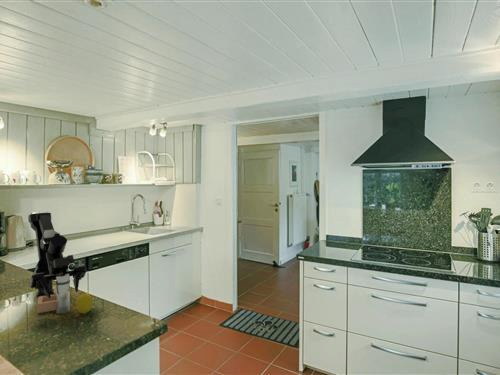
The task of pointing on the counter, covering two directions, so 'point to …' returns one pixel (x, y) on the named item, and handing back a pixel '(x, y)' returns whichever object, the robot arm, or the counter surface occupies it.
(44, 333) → the counter surface
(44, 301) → the terracotta collar
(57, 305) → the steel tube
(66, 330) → the counter surface
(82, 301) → the lemon
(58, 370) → the counter surface
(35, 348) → the counter surface
